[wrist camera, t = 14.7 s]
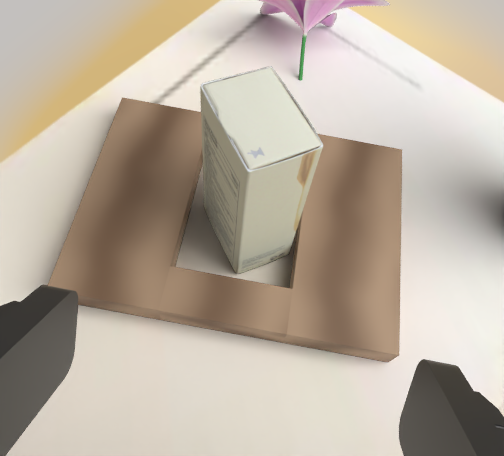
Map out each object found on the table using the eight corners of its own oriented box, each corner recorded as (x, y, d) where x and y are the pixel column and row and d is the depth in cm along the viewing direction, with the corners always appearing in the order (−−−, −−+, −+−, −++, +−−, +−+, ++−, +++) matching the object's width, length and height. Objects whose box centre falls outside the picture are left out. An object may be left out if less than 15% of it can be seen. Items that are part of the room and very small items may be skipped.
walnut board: (393, 164, 38) (401, 149, 36) (388, 362, 31) (399, 355, 29) (126, 115, 38) (122, 97, 36) (55, 300, 31) (45, 289, 29)
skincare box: (290, 255, 34) (331, 150, 23) (235, 277, 33) (250, 178, 22) (253, 184, 36) (273, 60, 25) (200, 202, 35) (198, 80, 24)
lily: (385, 69, 45) (403, -47, 40) (342, 103, 36) (359, -40, 31) (272, 55, 50) (275, -51, 45) (211, 81, 41) (206, -46, 36)
